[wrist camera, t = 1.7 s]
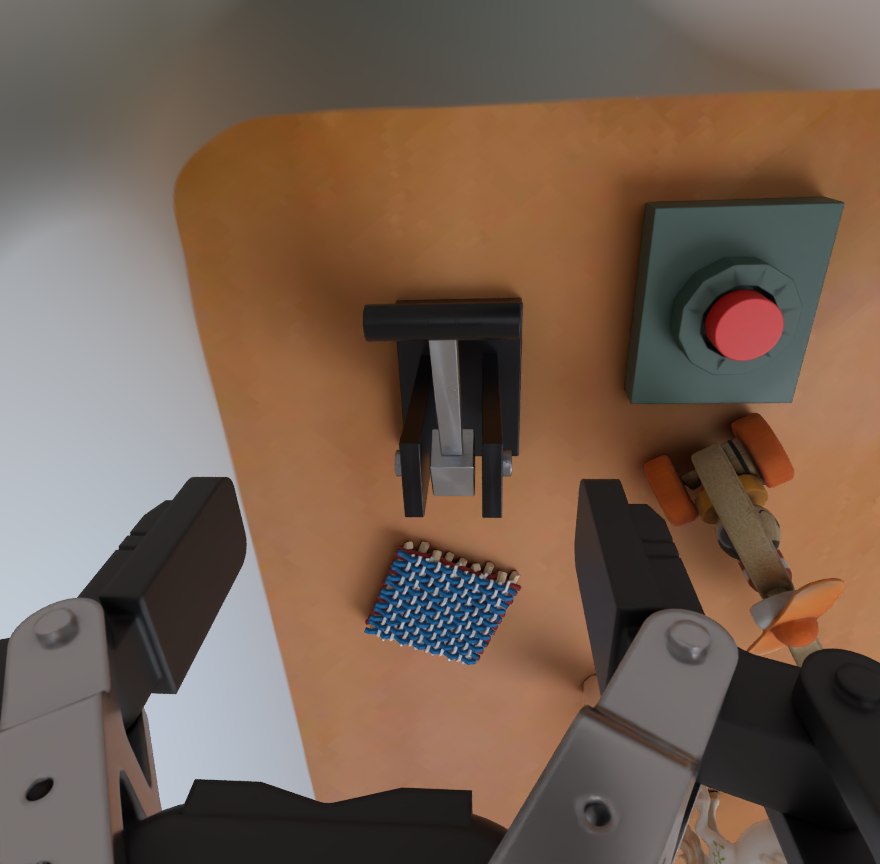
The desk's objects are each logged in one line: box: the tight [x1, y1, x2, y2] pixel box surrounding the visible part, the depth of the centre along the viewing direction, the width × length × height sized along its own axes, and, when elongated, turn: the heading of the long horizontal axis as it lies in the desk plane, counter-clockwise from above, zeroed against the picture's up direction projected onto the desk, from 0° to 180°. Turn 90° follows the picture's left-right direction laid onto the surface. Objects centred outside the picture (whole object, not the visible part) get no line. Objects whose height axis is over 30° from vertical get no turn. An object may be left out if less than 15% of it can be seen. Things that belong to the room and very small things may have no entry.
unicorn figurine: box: [679, 785, 787, 864], centre depth 53 cm, size 7×20×13 cm, turn 163°
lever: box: [363, 302, 521, 496], centre depth 28 cm, size 12×6×2 cm, turn 1°
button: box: [705, 290, 784, 361], centre depth 34 cm, size 4×4×2 cm
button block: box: [624, 197, 844, 404], centre depth 36 cm, size 12×10×4 cm
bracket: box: [395, 298, 523, 518], centre depth 36 cm, size 11×8×13 cm
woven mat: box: [364, 542, 521, 665], centre depth 50 cm, size 10×11×2 cm
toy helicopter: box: [644, 413, 846, 667], centre depth 40 cm, size 8×21×14 cm, turn 33°
